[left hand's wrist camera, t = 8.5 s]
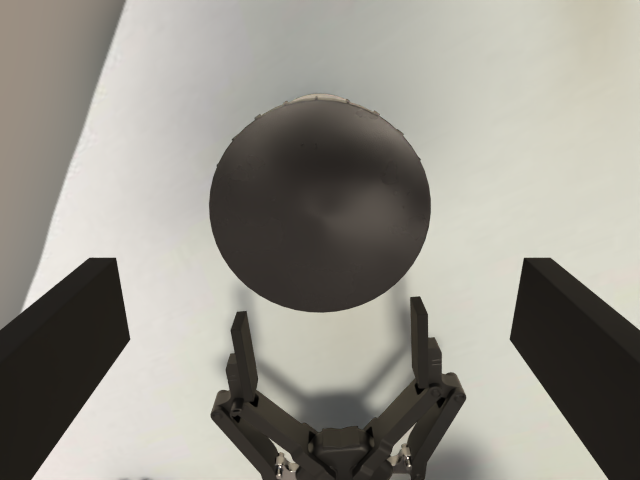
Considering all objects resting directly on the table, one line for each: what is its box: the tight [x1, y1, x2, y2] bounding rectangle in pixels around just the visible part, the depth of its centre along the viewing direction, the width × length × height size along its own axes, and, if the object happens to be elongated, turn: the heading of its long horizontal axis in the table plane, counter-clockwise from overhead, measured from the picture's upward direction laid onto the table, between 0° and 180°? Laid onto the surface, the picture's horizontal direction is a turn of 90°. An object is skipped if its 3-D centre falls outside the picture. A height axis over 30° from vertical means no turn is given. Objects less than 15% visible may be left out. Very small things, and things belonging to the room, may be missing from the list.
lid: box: [209, 96, 431, 313], centre depth 22 cm, size 10×10×2 cm
